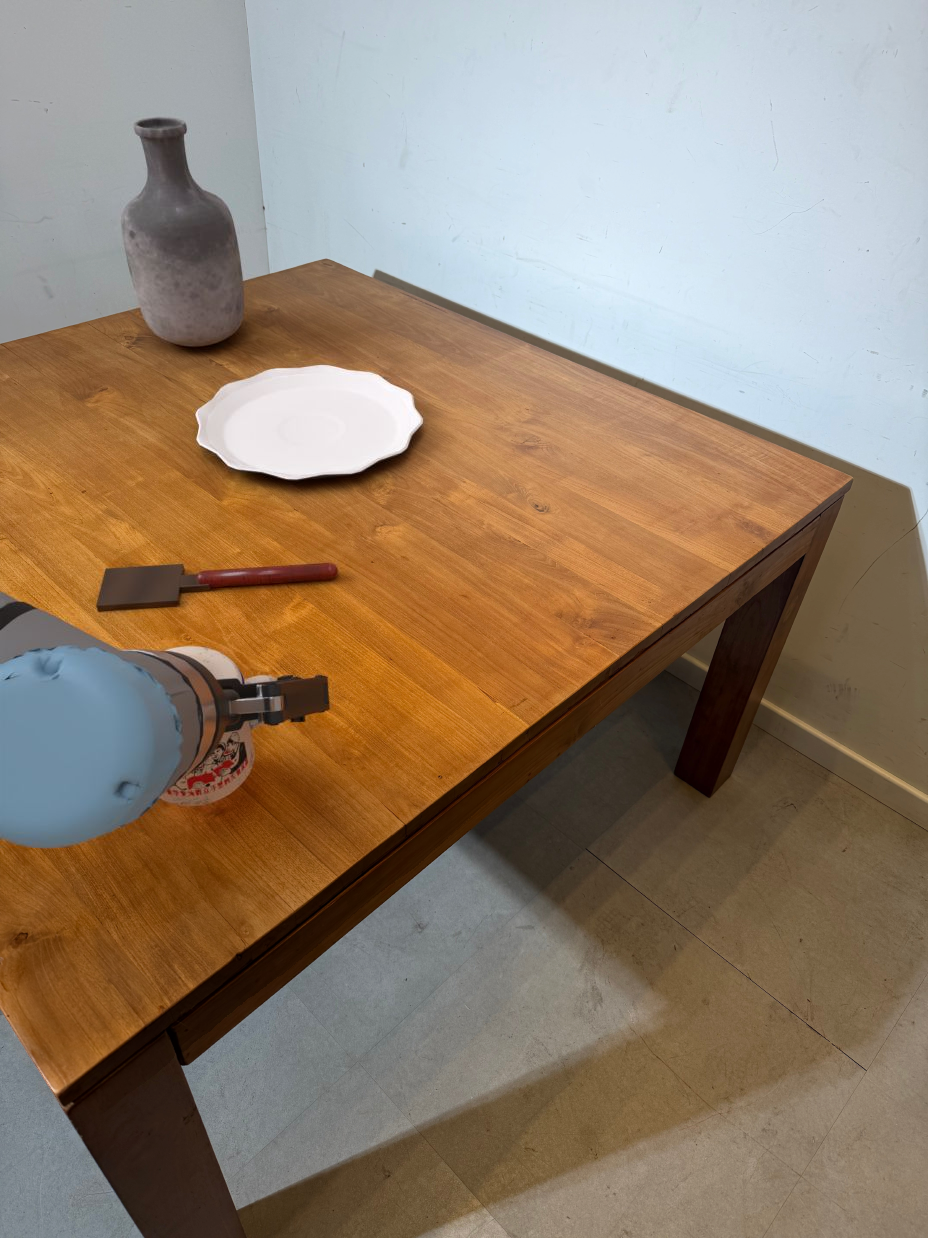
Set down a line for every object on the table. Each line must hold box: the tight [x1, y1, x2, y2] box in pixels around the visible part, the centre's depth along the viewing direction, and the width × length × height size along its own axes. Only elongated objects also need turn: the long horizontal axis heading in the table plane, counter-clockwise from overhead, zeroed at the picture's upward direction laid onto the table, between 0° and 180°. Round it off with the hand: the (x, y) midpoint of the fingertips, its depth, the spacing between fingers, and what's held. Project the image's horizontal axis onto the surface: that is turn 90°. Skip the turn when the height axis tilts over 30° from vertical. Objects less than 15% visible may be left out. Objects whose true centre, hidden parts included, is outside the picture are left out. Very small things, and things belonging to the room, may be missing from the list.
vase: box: [120, 116, 245, 348], centre depth 121 cm, size 16×16×30 cm
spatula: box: [95, 562, 339, 612], centre depth 88 cm, size 24×6×2 cm, turn 99°
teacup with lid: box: [159, 645, 277, 807], centre depth 64 cm, size 12×9×12 cm
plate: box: [195, 364, 424, 482], centre depth 111 cm, size 29×29×2 cm
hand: (211, 697), depth 67 cm, fingers closed on teacup with lid, 12 cm apart
